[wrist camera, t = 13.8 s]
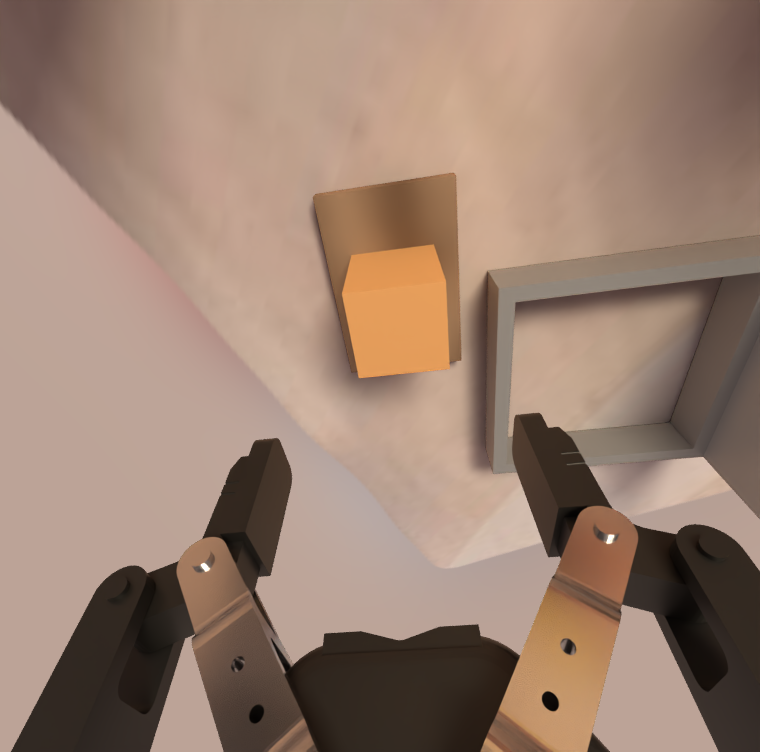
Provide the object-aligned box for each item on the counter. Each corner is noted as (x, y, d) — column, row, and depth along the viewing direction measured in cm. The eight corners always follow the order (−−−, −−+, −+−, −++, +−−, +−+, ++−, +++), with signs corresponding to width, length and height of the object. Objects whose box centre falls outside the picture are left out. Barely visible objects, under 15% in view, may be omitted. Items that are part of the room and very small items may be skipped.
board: (352, 365, 29) (351, 372, 29) (315, 194, 23) (312, 197, 22) (459, 353, 29) (461, 360, 28) (453, 172, 22) (455, 175, 21)
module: (364, 328, 27) (359, 378, 22) (351, 255, 24) (341, 293, 19) (437, 319, 26) (449, 369, 21) (433, 244, 23) (446, 281, 18)
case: (485, 447, 34) (535, 620, 23) (487, 270, 25) (572, 408, 14) (691, 429, 33) (858, 605, 21) (772, 233, 24) (1140, 353, 12)
